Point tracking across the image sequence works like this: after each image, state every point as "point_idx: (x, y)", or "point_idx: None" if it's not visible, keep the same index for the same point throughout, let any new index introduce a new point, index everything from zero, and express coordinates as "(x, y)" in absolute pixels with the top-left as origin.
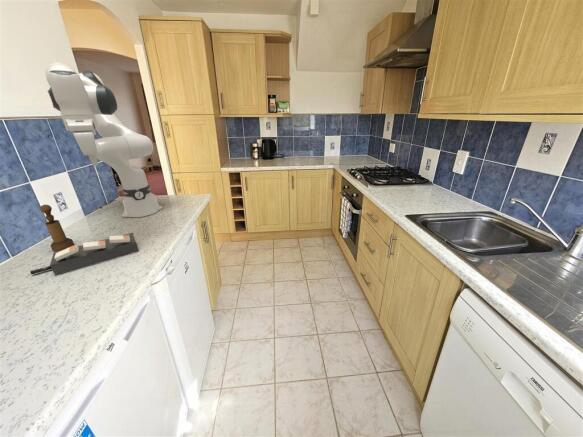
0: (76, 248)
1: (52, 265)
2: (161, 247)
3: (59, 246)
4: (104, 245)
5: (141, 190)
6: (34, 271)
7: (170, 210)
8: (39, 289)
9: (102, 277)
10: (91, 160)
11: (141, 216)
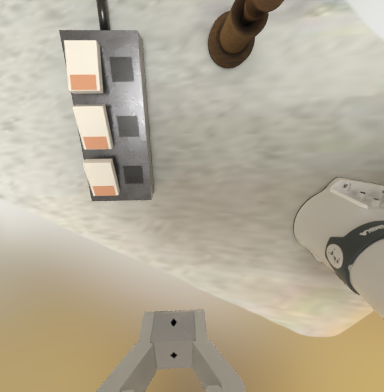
0: (76, 91)
1: (61, 36)
2: (93, 228)
3: (210, 36)
4: (84, 147)
5: (342, 272)
6: None
7: (288, 270)
8: (23, 14)
9: (19, 129)
10: (130, 353)
11: (297, 215)
